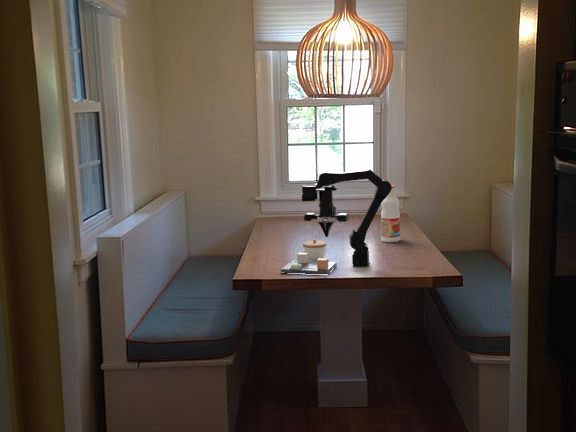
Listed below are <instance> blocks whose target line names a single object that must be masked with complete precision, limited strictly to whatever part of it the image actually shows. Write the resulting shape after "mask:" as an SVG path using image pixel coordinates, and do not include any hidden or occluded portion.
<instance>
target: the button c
mask: <svg viewBox="0 0 576 432" xmlns="http://www.w3.org/2000/svg"><path fill="white" fill-rule="evenodd" d="M291 269H298V270H301V269H302V264H292V265H291Z"/></svg>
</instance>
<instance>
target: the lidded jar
mask: <svg viewBox="0 0 576 432" xmlns="http://www.w3.org/2000/svg"><path fill="white" fill-rule="evenodd" d="M302 249H303V253H308V261H309V260H311V261H317V259H319V258H325V256H326V253H327V242H326V241H324V240H317V239H315V238H313V239H312V240H308V241H304V242H302Z"/></svg>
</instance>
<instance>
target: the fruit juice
mask: <svg viewBox="0 0 576 432" xmlns="http://www.w3.org/2000/svg"><path fill="white" fill-rule="evenodd" d="M391 186H392V190H391V192H390V193H389V194H388V196H387V197H386V198H385V199H384V200H383V202H382V203H381V205H380V206H381V213H380V223H381V224H380V231H381V232H380V233H381V234H380V235H381V237H380V238H381V242H384V243H397V242H400V241H401V212H400V200H399V198H398V197H397V195H396V192H395V191H396V186H395V184H394V185H393V184H391Z"/></svg>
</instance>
